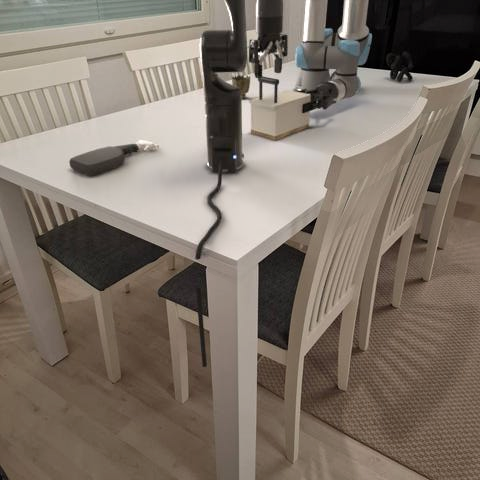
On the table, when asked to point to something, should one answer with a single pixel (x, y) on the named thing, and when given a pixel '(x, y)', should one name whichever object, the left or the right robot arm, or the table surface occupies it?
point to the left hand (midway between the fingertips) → (268, 75)
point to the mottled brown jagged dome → (242, 84)
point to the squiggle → (399, 66)
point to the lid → (277, 95)
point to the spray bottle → (106, 157)
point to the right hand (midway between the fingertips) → (289, 105)
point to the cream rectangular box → (279, 120)
